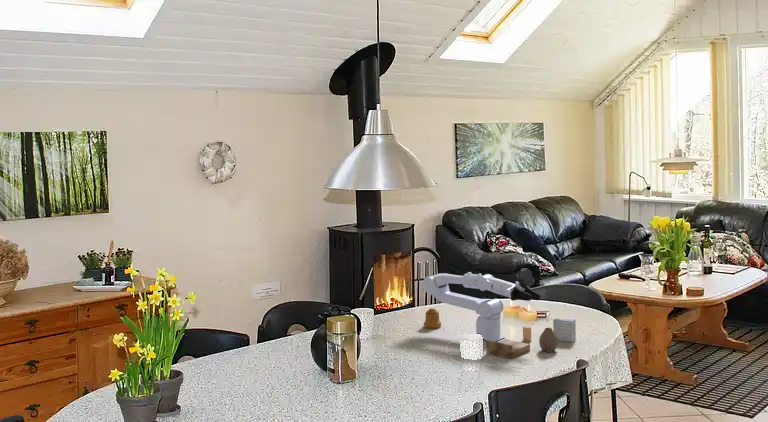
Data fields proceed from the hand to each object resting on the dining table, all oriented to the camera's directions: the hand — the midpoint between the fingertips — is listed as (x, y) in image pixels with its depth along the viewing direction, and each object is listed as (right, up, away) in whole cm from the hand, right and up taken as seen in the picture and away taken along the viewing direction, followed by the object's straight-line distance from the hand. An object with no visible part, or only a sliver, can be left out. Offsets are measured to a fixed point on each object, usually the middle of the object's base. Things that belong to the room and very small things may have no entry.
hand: (535, 298), depth 302 cm
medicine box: (+14, -18, +10) cm, 25 cm away
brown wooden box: (-11, -20, -4) cm, 23 cm away
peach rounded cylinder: (-1, -18, +10) cm, 21 cm away
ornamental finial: (-38, -16, +35) cm, 54 cm away
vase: (+4, -20, -3) cm, 21 cm away
